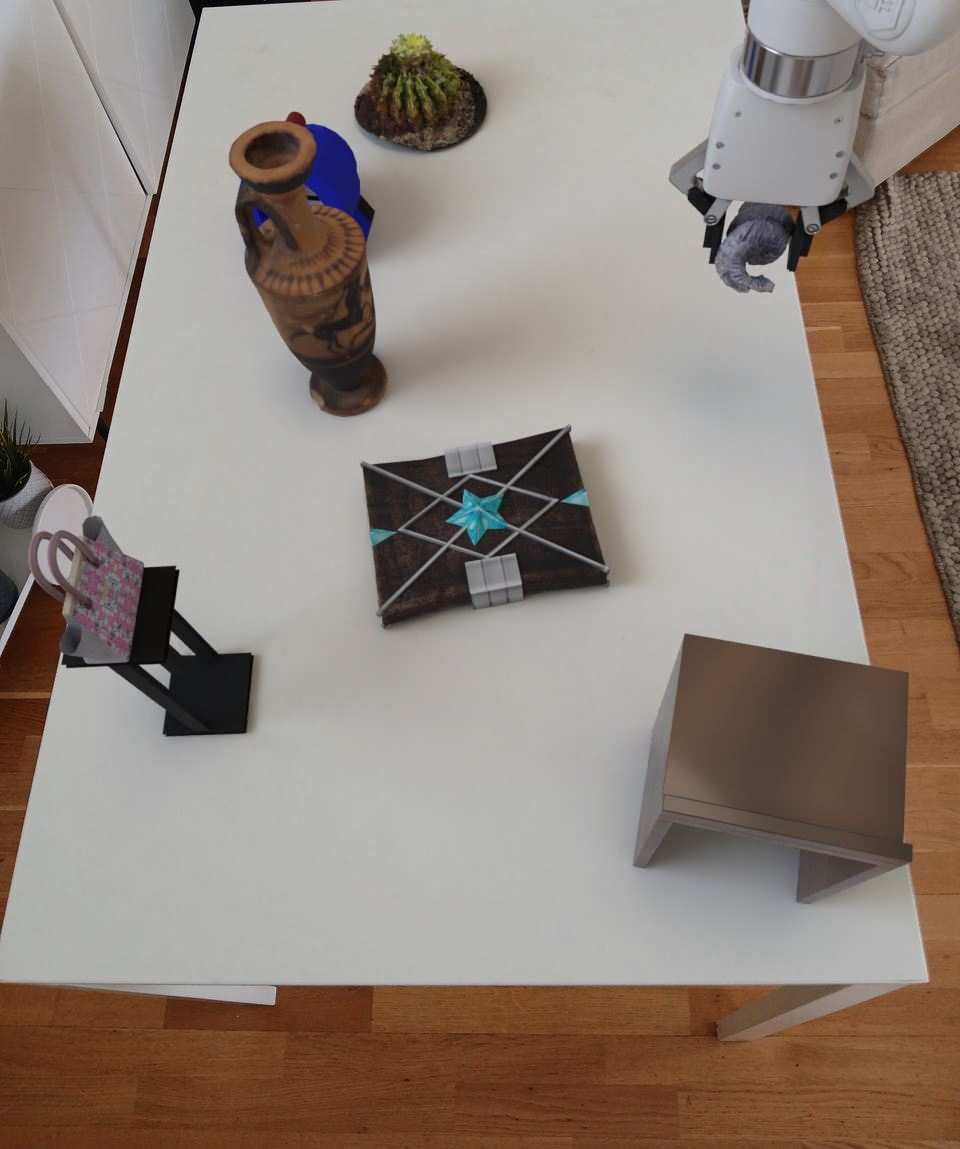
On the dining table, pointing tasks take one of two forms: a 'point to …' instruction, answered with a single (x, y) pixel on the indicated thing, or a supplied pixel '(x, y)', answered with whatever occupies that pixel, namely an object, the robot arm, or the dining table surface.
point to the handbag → (142, 633)
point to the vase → (308, 267)
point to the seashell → (753, 245)
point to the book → (480, 526)
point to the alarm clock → (331, 177)
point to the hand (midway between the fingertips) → (753, 254)
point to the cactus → (420, 97)
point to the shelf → (782, 759)
